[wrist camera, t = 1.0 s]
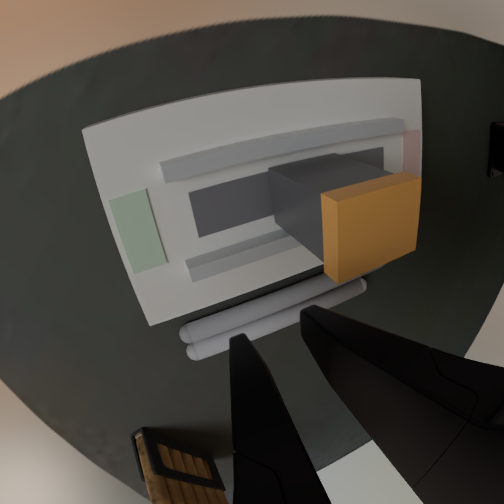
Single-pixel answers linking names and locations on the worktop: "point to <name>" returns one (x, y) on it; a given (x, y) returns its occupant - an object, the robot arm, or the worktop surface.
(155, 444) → the ammunition clip
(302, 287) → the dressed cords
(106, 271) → the worktop surface
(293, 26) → the worktop surface
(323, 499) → the robot arm
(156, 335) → the worktop surface
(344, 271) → the breaker lever
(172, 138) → the breaker panel
